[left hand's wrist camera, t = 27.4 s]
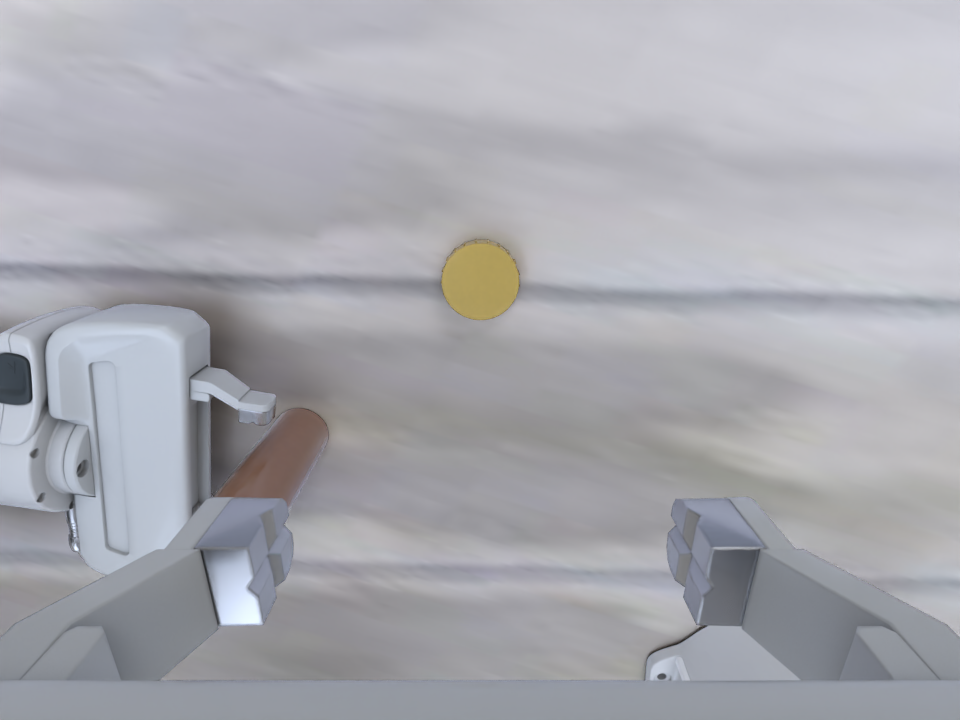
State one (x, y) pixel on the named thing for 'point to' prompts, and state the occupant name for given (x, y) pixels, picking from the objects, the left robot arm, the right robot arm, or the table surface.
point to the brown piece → (280, 459)
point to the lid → (480, 280)
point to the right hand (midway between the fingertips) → (270, 472)
